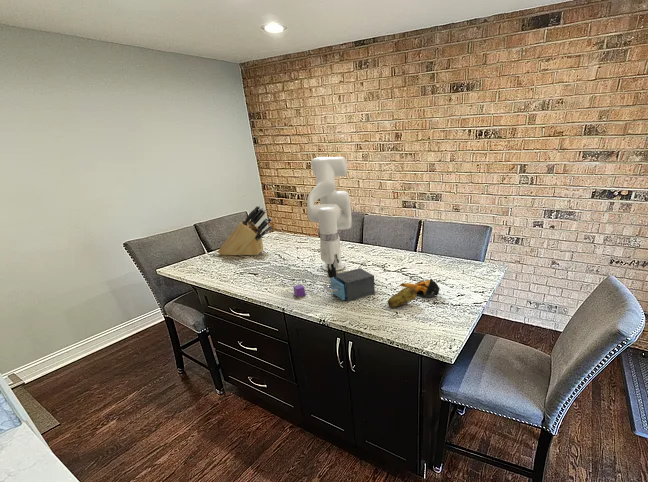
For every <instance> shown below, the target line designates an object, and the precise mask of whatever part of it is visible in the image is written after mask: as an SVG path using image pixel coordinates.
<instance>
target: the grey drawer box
mask: <svg viewBox="0 0 648 482" xmlns="http://www.w3.org/2000/svg"><path fill="white" fill-rule="evenodd" d="M333 278H334V279H336V278H337V279H339V280H341V281H342V282H344V283H345V284H346V293H347V298H346V297H345V300H344V301H346V302H350V301H354V300H357V299H361V298H363V297H367V296H370V295H374V294H375V292H376V291H375V275H374V274H373V273H370V272H368V271H367V270H365V269H363V268H360V267H359V268H355V269H351V270H346V271H343V272H339V273H336V277H333Z"/></svg>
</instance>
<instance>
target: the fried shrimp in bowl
mask: <svg viewBox="0 0 648 482" xmlns="http://www.w3.org/2000/svg"><path fill="white" fill-rule="evenodd" d="M399 286H400V287H403V288H406V287H412V288H414V289H415V290H416V292H417V294H416V296H419V297H424V298H425V297H427V298H432V297H435V296H436V297H437V296H438V295H440V290H441V289H440V286H439V285H438V283H437V282H436V281H435V280H433V279H432V278H430V279H427V280H420V281H417V282H414V283H408V282H406V283H404V282H402V283H400V284H399Z"/></svg>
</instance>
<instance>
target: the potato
mask: <svg viewBox="0 0 648 482" xmlns="http://www.w3.org/2000/svg"><path fill="white" fill-rule="evenodd" d="M416 294H417V292H416V290H415V289H414V288H412V287H403V288H402V289H401V290H400V291H398V292H397V293H396V294H394V295H392V296H391V297H390V298H388V300H387V305H388V306H389V307H390V308H396V307H402V306H404V305H407V304H409V303H410V302H413V301H415V300H416V298H417V295H416Z"/></svg>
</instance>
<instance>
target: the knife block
mask: <svg viewBox="0 0 648 482" xmlns="http://www.w3.org/2000/svg"><path fill="white" fill-rule="evenodd" d="M266 213H267V210H266V209H264V207H261V205H260V204H257V205H256V206H255V208H254V209H253V210H251V211H250V212H249V214H248V215H247V216H246V218H245V219H244V220H243V221H241V222H240V223H239V224H238V225H237V226H236V227H235V228H234V230H233V231H232V233H231V234H230V235H229V236H228V238H227V239H226V240H225V241H224V242H223V243H222V245H221V246H220V247H219V249H218V250H217V253H218V254H219V255H220V256H259V254H261V252H263V251H264V243H263V237H264V236H265V235H267V233H268V232H270V231H271V230H272V229H273V226H272V225H271V226H268V225H269V223H270V222H272V220H273V218H272V217H269V218H265V219H263V221H262V222H261V223H260V224H259V226H258V225H257V223H258V222H259V221H260V220H261V219H262V218H263V217H264V215H265V214H266ZM267 226H268V227H267ZM265 228H266V229H265ZM264 229H265V230H264Z"/></svg>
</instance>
